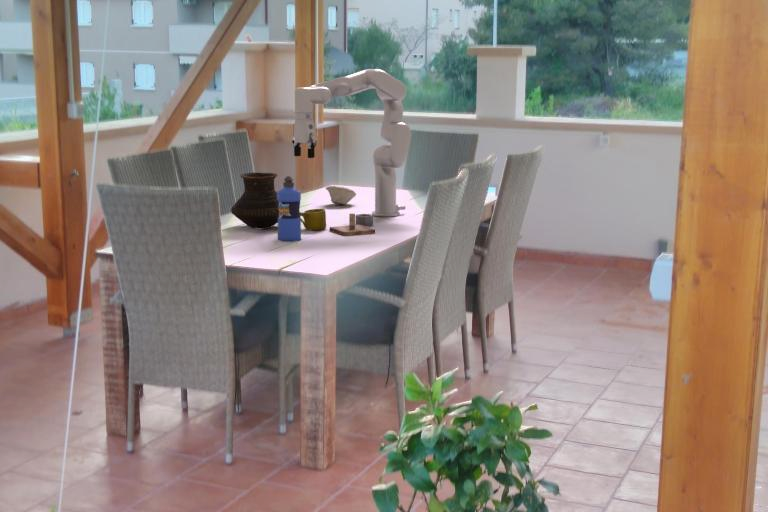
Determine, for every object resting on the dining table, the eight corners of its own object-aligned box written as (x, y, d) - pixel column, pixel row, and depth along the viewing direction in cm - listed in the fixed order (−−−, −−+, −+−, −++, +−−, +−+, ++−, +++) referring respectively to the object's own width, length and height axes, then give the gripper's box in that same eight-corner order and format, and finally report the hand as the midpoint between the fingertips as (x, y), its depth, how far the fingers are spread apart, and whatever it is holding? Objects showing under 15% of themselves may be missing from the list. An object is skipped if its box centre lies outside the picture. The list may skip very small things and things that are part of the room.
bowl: (362, 204, 506) (362, 183, 504) (345, 208, 494) (345, 187, 492) (336, 201, 514) (336, 181, 512) (320, 205, 502) (319, 184, 500)
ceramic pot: (219, 229, 435) (218, 175, 431) (254, 220, 456) (253, 169, 452) (267, 234, 424) (266, 179, 419) (301, 225, 445) (300, 173, 440)
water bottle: (291, 242, 406) (290, 178, 401) (272, 240, 411) (271, 177, 406) (305, 238, 414) (305, 176, 409) (287, 236, 418) (286, 174, 413)
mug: (333, 223, 439) (326, 202, 435) (325, 234, 431) (317, 213, 427) (308, 226, 444) (300, 206, 440) (299, 238, 436) (291, 216, 432)
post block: (359, 228, 439) (359, 210, 438) (375, 233, 427) (375, 215, 426) (329, 230, 432) (329, 212, 431) (344, 235, 420) (344, 217, 419)
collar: (367, 223, 450) (367, 213, 450) (375, 225, 444) (375, 215, 444) (353, 224, 447) (353, 214, 446) (360, 227, 441) (360, 216, 440)
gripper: (323, 117, 439) (323, 158, 442) (299, 115, 452) (299, 154, 455) (308, 118, 434) (309, 159, 437) (284, 116, 447) (285, 155, 450)
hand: (304, 157), depth 446 cm, fingers open, 9 cm apart
